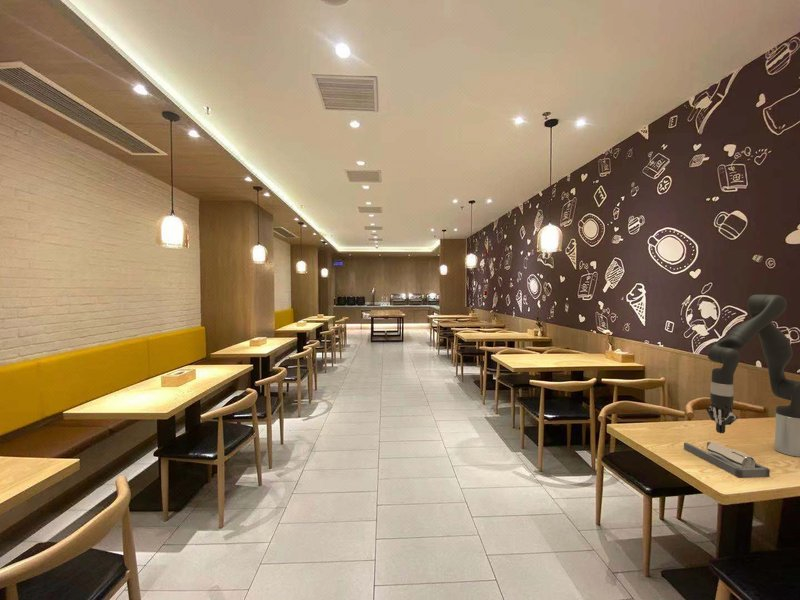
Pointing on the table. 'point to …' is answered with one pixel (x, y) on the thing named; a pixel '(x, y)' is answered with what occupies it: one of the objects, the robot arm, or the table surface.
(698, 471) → the table surface
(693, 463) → the table surface
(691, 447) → the u rest
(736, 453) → the beer glass
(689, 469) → the table surface
